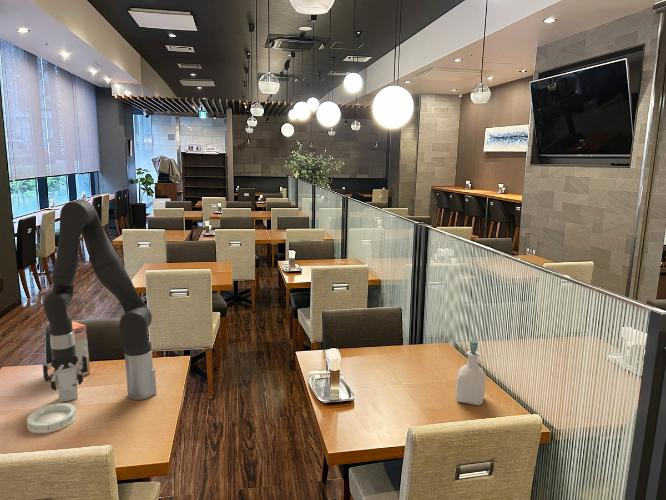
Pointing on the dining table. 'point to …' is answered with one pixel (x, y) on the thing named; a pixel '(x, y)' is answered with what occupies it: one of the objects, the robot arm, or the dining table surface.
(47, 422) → the dish
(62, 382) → the skincare box
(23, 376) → the dining table surface
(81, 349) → the cracker box
